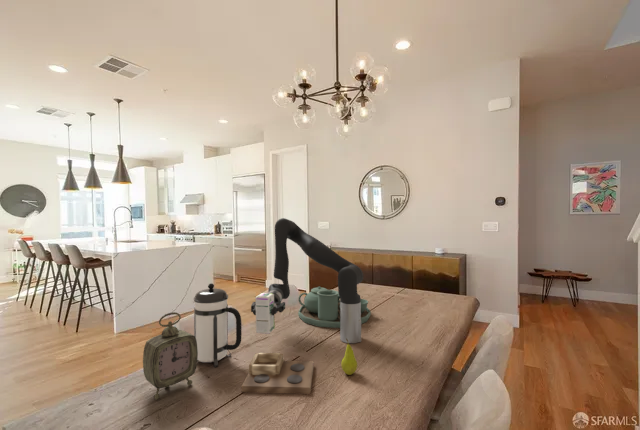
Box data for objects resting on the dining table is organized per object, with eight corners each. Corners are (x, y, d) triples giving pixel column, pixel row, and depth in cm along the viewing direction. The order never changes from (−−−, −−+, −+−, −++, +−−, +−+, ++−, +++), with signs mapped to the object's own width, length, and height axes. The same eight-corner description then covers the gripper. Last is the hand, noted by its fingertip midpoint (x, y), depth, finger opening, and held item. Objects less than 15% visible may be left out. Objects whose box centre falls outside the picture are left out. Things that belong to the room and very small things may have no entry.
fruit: (353, 379, 110) (353, 345, 110) (338, 375, 113) (338, 341, 113) (360, 372, 115) (360, 339, 115) (345, 368, 118) (345, 336, 118)
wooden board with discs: (313, 366, 119) (313, 353, 119) (310, 393, 101) (310, 378, 101) (255, 365, 120) (255, 352, 120) (241, 392, 102) (241, 376, 102)
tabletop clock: (152, 404, 96) (152, 321, 96) (140, 393, 102) (140, 315, 102) (197, 384, 107) (197, 310, 107) (184, 375, 113) (184, 305, 113)
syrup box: (269, 334, 123) (269, 296, 123) (255, 333, 124) (255, 296, 124) (274, 328, 129) (274, 293, 129) (261, 327, 130) (260, 292, 130)
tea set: (382, 324, 165) (382, 292, 165) (307, 332, 154) (307, 298, 154) (354, 303, 203) (354, 277, 203) (292, 308, 193) (292, 281, 193)
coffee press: (193, 374, 114) (193, 290, 114) (189, 356, 128) (188, 281, 128) (242, 363, 122) (241, 285, 122) (232, 347, 136) (232, 277, 136)
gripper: (256, 292, 141) (245, 302, 124) (288, 292, 140) (282, 303, 124) (256, 308, 141) (245, 322, 125) (288, 309, 140) (282, 322, 124)
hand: (263, 312), depth 124 cm, fingers closed on syrup box, 6 cm apart
